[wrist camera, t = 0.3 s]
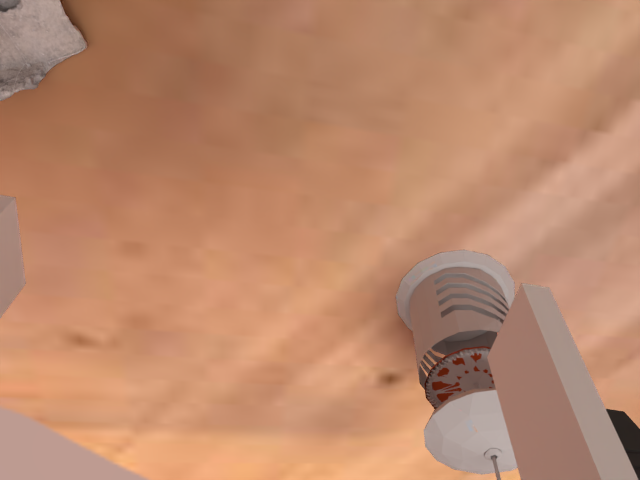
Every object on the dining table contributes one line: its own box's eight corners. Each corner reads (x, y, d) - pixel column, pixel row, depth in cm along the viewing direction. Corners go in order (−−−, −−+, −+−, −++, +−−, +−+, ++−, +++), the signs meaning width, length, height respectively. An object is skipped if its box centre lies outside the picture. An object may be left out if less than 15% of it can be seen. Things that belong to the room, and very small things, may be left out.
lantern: (432, 232, 46) (505, 550, 25) (558, 283, 48) (721, 614, 27) (375, 320, 51) (396, 646, 30) (491, 362, 53) (586, 693, 32)
